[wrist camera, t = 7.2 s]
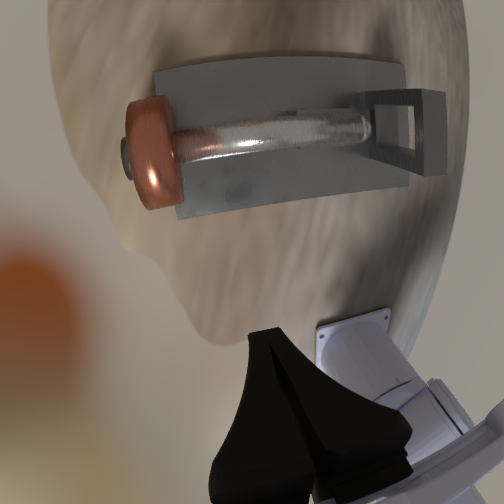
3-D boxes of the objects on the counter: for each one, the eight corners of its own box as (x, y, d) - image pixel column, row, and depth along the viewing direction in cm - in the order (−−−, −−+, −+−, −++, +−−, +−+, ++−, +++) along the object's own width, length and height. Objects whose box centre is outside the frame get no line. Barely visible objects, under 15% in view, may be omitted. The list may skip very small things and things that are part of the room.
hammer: (349, 166, 20) (398, 186, 15) (146, 197, 18) (127, 229, 13) (343, 83, 17) (394, 76, 12) (130, 107, 16) (101, 103, 10)
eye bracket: (405, 184, 22) (462, 210, 16) (178, 218, 20) (171, 263, 14) (399, 64, 18) (461, 58, 12) (154, 73, 16) (132, 50, 10)
